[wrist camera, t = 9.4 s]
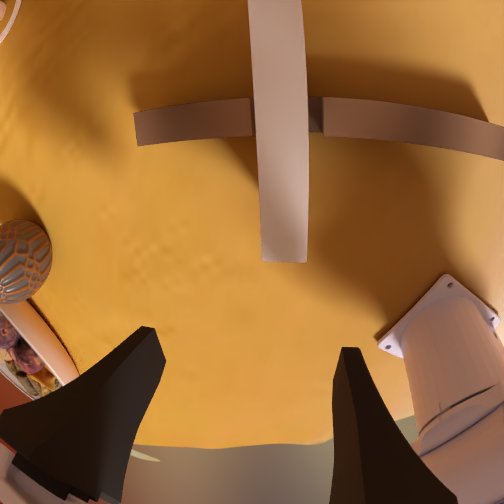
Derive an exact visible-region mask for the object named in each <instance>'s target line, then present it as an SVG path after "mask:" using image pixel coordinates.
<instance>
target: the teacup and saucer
mask: <svg viewBox="0 0 504 504" xmlns="http://www.w3.org/2000/svg"><path fill="white" fill-rule="evenodd" d="M21 1H22V0H16V3H15V7H14V10H13V13H12V16H11V18H10V20H9V22H8V24H7V26H6V27H5V29H4V30H3V32H2V33H1V34H0V43H1V42H2V41H3V40H4V38H5V37H6V35H7V34H8V32H9V30H10V29H11V27H12V25H13V23H14V21H15V18H16V16H17V14H18V11H19V8H20V5H21ZM5 12H6V4H5V3H4V2H2V1H0V21H1V20H2V18H3V17H4V14H5Z"/></svg>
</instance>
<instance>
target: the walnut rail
mask: <svg viewBox="0 0 504 504" xmlns="http://www.w3.org/2000/svg"><path fill="white" fill-rule="evenodd" d="M133 114H134V122H135V130H136V138H137V145H138V146H144V145H151V144H159V143H167V142H176V141H186V140H197V139H209V138H224V137H244V136H253V135H254V134H256V124H255V107H254V98H236V99H224V100H214V101H204V102H196V103H188V104H181V105H174V106H168V107H162V108H156V109H151V110H145V111H140V112H135V113H133ZM308 132H321V133H322V134H323V135H324V136H330V137H349V138H363V139H375V140H386V141H395V142H404V143H412V144H420V145H427V146H433V147H440V148H446V149H451V150H457V151H462V152H467V153H472V154H477V155H482V156H486V157H490V158H495V159H499V160H503V161H504V127H502V126H499V125H496V124H492V123H489V122H486V121H482V120H478V119H475V118H471V117H467V116H463V115H458V114H454V113H450V112H445V111H440V110H435V109H430V108H424V107H419V106H413V105H406V104H399V103H392V102H384V101H375V100H365V99H352V98H337V97H308Z"/></svg>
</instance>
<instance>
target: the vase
mask: <svg viewBox="0 0 504 504" xmlns="http://www.w3.org/2000/svg"><path fill="white" fill-rule="evenodd" d="M51 265H52V247H51V243H50V240H49V238H48V236H47V234H46V233H45V232H44V230H43V229H42V228H41V227H40V226H38V225H37V224H35V223H33V222H31V221H28V220H24V219H18V220H12V221H9V222H6V223H5V224H3V225H1V226H0V304H16V303H20V302H22V301H24V300H26V299H28V298H30V297H31V296H32V295H34V294H35V293H36V292H37V291H38V290H39V289H40V287H41V286H42V285H43V284H44V282H45V280H46V279H47V277H48V275H49V272H50V270H51Z"/></svg>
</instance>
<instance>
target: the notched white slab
mask: <svg viewBox="0 0 504 504" xmlns="http://www.w3.org/2000/svg"><path fill="white" fill-rule="evenodd" d="M248 13H249V27H250V42H251V58H252V74H253V90H254V107H255V124H256V142H257V161H258V180H259V200H260V220H261V241H262V261H270V262H297V263H307V239H308V199H309V134H308V96H307V73H306V54H305V39H304V26H303V14H302V3H301V0H248Z"/></svg>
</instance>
